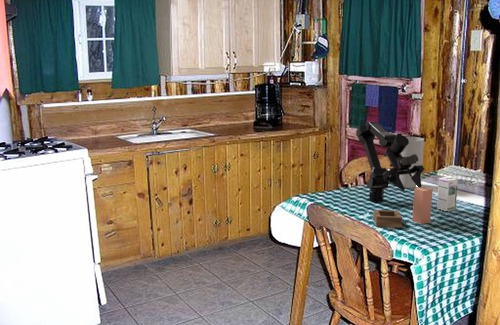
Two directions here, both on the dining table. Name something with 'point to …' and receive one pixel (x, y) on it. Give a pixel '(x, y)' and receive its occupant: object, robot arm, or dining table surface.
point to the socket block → (387, 218)
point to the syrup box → (447, 193)
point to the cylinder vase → (412, 148)
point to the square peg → (422, 205)
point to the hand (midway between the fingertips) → (412, 189)
